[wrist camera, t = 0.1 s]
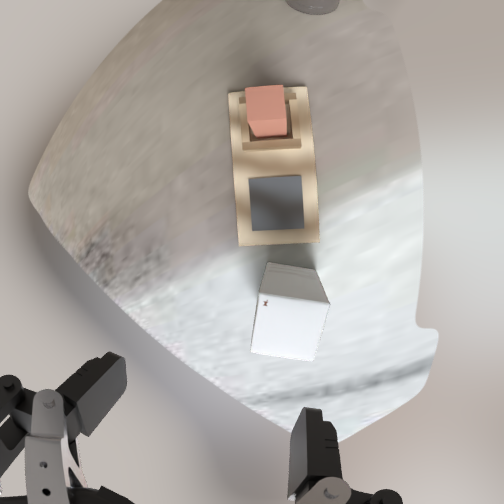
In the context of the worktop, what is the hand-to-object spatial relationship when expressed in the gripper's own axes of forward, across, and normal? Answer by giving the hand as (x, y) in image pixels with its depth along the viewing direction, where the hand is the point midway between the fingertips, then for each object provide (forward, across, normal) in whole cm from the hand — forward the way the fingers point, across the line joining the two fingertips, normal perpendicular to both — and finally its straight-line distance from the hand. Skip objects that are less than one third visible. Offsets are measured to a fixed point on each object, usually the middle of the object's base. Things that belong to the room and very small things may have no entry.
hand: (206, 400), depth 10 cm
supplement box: (+29, -4, +4) cm, 30 cm away
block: (+28, +3, -18) cm, 34 cm away
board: (+29, +1, -13) cm, 32 cm away
